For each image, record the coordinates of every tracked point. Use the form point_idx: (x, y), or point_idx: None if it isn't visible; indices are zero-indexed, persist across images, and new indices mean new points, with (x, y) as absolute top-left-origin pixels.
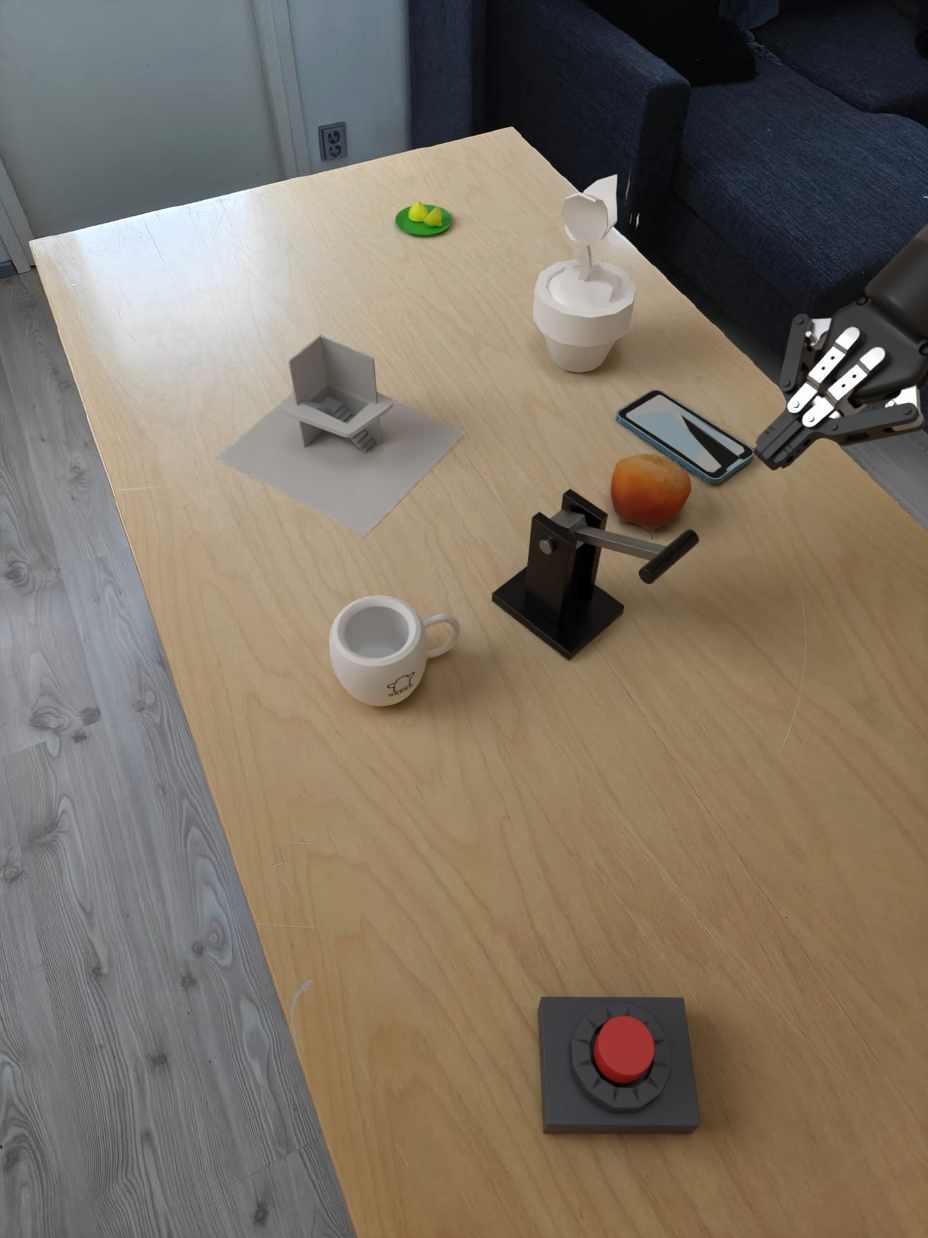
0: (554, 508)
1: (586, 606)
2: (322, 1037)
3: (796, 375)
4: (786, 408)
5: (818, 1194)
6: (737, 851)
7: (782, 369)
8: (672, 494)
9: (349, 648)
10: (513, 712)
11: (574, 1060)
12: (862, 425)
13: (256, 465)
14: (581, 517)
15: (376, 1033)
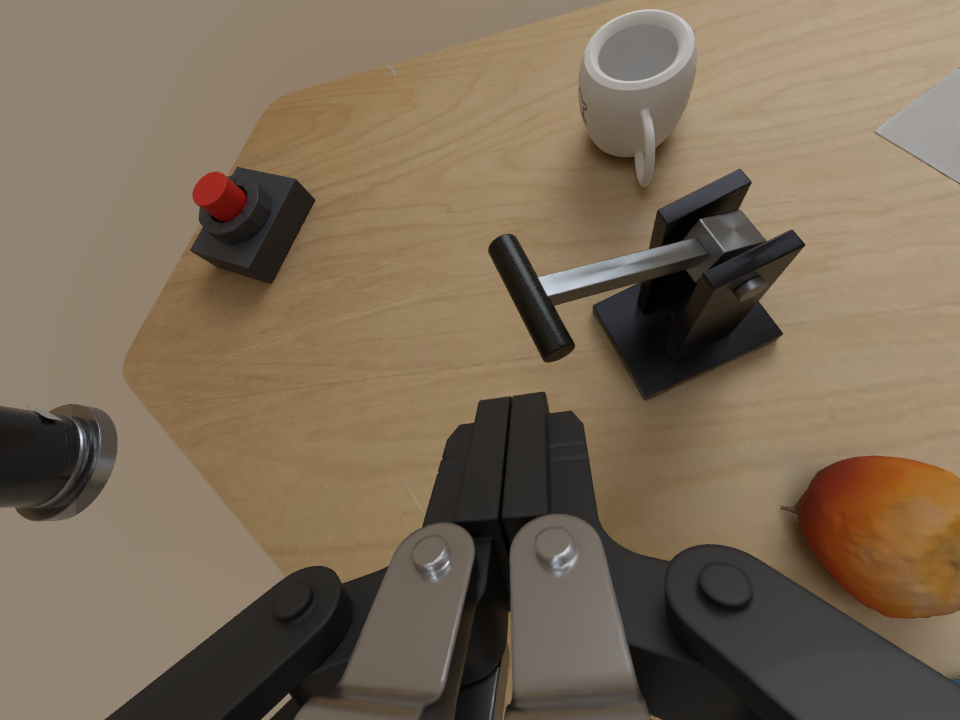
0: (891, 386)
1: (659, 348)
2: (362, 80)
3: (745, 675)
4: (602, 536)
5: (156, 324)
6: (340, 384)
7: (876, 638)
8: (839, 539)
9: (620, 26)
10: (548, 240)
11: (240, 175)
12: (128, 716)
13: None
14: (719, 246)
15: (349, 108)
